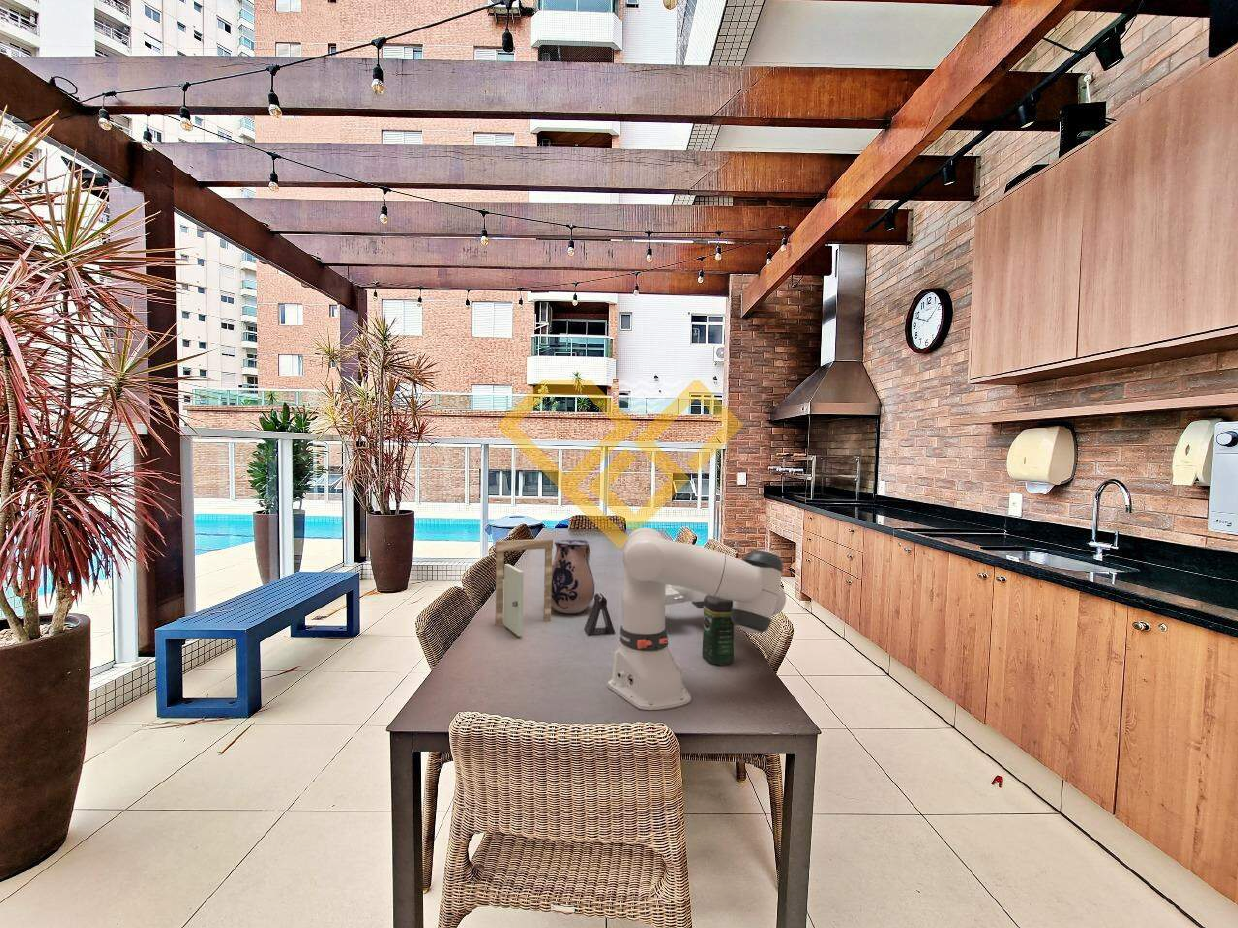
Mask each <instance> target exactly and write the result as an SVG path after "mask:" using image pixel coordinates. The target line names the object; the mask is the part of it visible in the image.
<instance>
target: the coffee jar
mask: <svg viewBox="0 0 1238 928" xmlns="http://www.w3.org/2000/svg"><path fill="white" fill-rule="evenodd" d="M732 608H733V601H731V600H726V599H722V598H718V597H714V596H711V595H707V596H706V597H705V598H704V608H703V636H702V638H703V639H702V651H701V653H702V657H703V658H704V659H705V660H706V661H707V662H709V663H710V664H712V665H720V666H726V665H730V664H733V663H734V660H735V625H734V624H733V622H732V621H731V609H732Z"/></svg>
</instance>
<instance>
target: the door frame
mask: <svg viewBox="0 0 1238 928" xmlns="http://www.w3.org/2000/svg"><path fill="white" fill-rule="evenodd" d="M553 549H554V539H552V538H537V539H536V538H535V539H534V538H533V539H515V540H514V539H513V540H496V541H495V551H496V557H495V558H496V562H495V564H496V565H495V568H496V569H495V573H496V575H495V626H496V627H502V626H504V625H503V618H504V559H505V557H504V552H509V551H510V552H512V551H513V552H514V551H530V550H531V551H533V550H544V579H543V580H544V587H543V588H544V589H543V621H544V620H545V621H544V622H551V621H552V605H551V588H552V564H553Z"/></svg>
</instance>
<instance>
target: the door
mask: <svg viewBox="0 0 1238 928" xmlns="http://www.w3.org/2000/svg"><path fill="white" fill-rule="evenodd" d="M524 573H525V572H524V571H523V570H521V569H520V568H517V567H515V566H513V565H511V564H509V563H505V564H504V566H503V626H505V627H506V628H507V629H509V630H510V631H511V632H512V633H513V634H515V635H516V636H517V637H523V634H524V633H523V631H524V588H525V586H524V583H525V582H524V578H525V574H524Z"/></svg>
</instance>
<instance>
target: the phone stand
mask: <svg viewBox="0 0 1238 928" xmlns="http://www.w3.org/2000/svg"><path fill="white" fill-rule="evenodd" d="M607 605H608V601H607V598H606V597H605V596H604V595H603V594H602V593H601V592H599V593H594V596H593V604H592V607H591V609H590V612H589V615H588V618H587V621H586V624H585V626H584V631H585V633H586V634H587V636H588V637H593V636H606V635H607V636H608V635H609V636H610V635H616V631H615V628H614V623H613V621H612V618H611V616H610V613H609V610H608V606H607ZM600 612H601V613H602V618H603V622H604V626H605V627H597V624H598V620H599V615H600Z"/></svg>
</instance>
